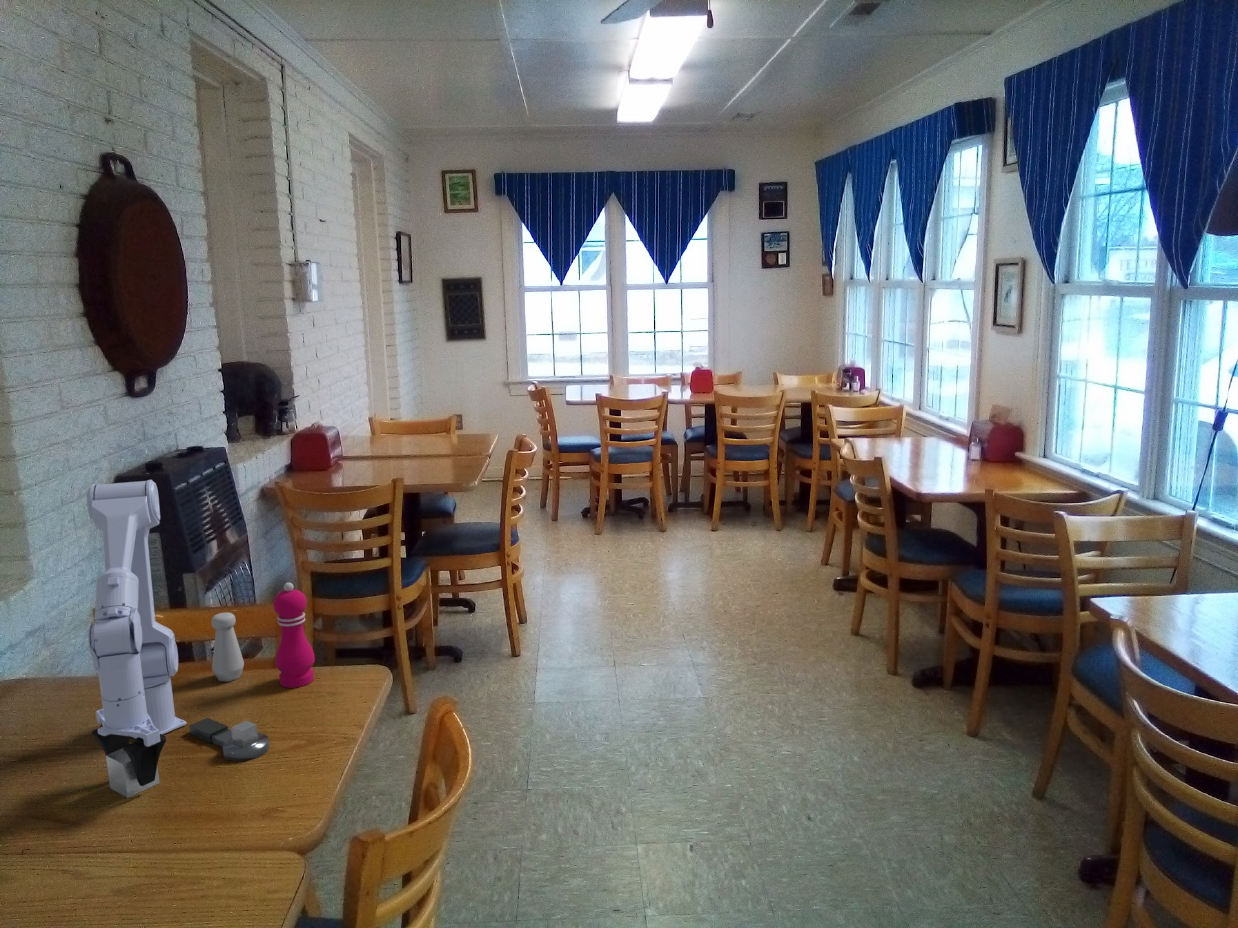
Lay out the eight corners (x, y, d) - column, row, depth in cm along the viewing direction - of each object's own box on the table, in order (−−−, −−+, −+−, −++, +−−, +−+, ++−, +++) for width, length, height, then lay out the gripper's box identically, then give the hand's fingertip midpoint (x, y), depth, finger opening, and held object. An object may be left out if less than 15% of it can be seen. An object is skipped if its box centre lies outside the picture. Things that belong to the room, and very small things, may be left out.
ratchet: (179, 737, 158) (176, 713, 157) (216, 721, 164) (213, 698, 163) (240, 765, 148) (237, 740, 147) (277, 747, 154) (275, 722, 153)
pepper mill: (283, 674, 183) (274, 577, 179) (320, 672, 184) (312, 575, 180) (272, 690, 176) (263, 589, 172) (311, 688, 176) (302, 587, 173)
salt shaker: (233, 684, 179) (226, 620, 176) (207, 682, 180) (200, 619, 177) (251, 672, 184) (244, 610, 182) (225, 670, 185) (218, 608, 183)
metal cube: (110, 788, 142) (105, 755, 141) (142, 773, 146) (137, 741, 145) (127, 797, 139) (123, 764, 138) (159, 782, 143) (155, 750, 142)
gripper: (71, 691, 141) (82, 773, 143) (122, 715, 133) (133, 801, 135) (117, 675, 146) (128, 754, 149) (169, 696, 138) (179, 779, 141)
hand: (133, 775), depth 142 cm, fingers open, 7 cm apart
